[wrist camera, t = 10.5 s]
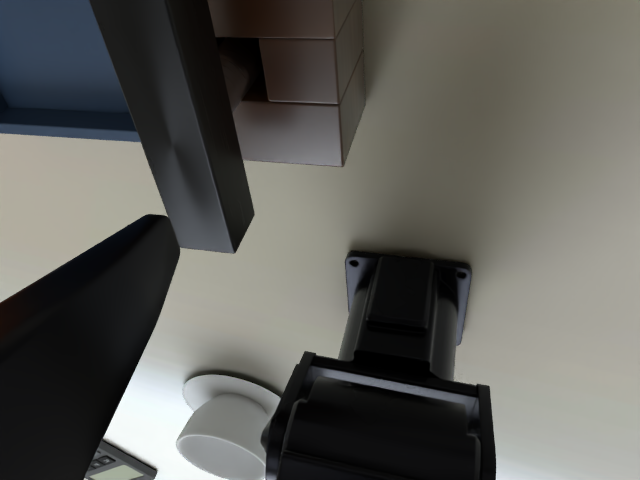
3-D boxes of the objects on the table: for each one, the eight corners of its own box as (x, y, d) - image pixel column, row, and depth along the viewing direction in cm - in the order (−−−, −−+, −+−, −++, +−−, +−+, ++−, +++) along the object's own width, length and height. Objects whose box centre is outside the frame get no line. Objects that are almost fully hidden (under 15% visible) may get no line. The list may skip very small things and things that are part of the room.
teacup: (214, 353, 39) (188, 410, 36) (324, 414, 41) (309, 473, 38) (168, 396, 46) (142, 447, 42) (265, 446, 48) (248, 499, 45)
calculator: (32, 413, 53) (154, 480, 59) (38, 405, 54) (158, 472, 59) (-2, 434, 61) (110, 493, 66) (4, 427, 61) (114, 485, 66)
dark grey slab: (306, 111, 23) (235, 255, 17) (263, 109, 24) (178, 248, 17) (282, -103, 18) (163, -10, 11) (227, -100, 18) (83, -9, 12)
